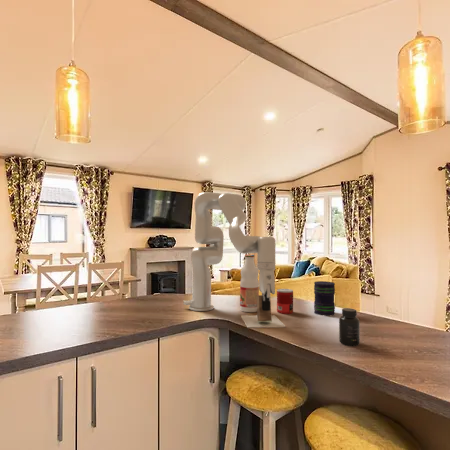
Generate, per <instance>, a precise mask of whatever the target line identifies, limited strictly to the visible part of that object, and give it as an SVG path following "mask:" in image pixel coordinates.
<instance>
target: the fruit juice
mask: <svg viewBox="0 0 450 450" xmlns="http://www.w3.org/2000/svg"><path fill="white" fill-rule="evenodd" d="M244 259H245V260H244V265H243V266H242V268H241V270H240V276H241V278H240V285H239V287H240V288H239V289H240V290H239V293H240V294H239V296H240V297H239V309H240V311H241V312H244V313H257V297H256V296H258V295H260V293H259V292H260V290H259V272H260V271H259V270H257V265H256V263H255V254H244Z"/></svg>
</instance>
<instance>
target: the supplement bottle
mask: <svg viewBox="0 0 450 450" xmlns="http://www.w3.org/2000/svg"><path fill="white" fill-rule="evenodd" d="M357 312H358V311H357V310H356V309H355V308H352V307H351V308H349V307H345V308H342V309H341V316H340V317H339V319H338V323H339V324H338V325H339V327H338V330H339V331H338V333H339V334H338V336H339V337H338V339H339V343H340V344H341V345H343V346H347V347H359V345H360V343H361V342H360V341H361V340H360V339H361V335H360V334H361V331H360V329H361V328H360V327H361V325H360V323H361V322H360V319H359V317H357V316H358V314H357Z"/></svg>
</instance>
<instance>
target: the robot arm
mask: <svg viewBox="0 0 450 450" xmlns="http://www.w3.org/2000/svg"><path fill="white" fill-rule="evenodd" d="M246 204H247V203H246V200H245V198H244V196H242V195H240V194H237V193H232V192H231V193H229V192H227V193H218V192H212V191H205V192H204V191H203V192H200V193H199V194H198V195H197V196H196V198H195V201H194V213H195V224H194V240H195V242H196V244H199V245H209V246H199V247H198V246H197V247H195V248H194V249H192V250H191V252H190V261H191V265H192V266H191V267H192V286H191V287H192V294H191V295H192V297H191V299H190V300H183V305H185V306H188V308H189V310H191V311H194V312H207V311H212V310H214V309H215V307H214V305H213V304H212V272H211V269H210V267H209V266H210V265H212V266H213V265H218V264H220V263H221V262H222V260H223V257H224V256H223V254H224V232H223V229H221V228H220V227H219V226H216V225H215V226H214V225H213V223H212V222H213V217H212V214H211V212H210V210H214V211H215V210H217V211H221V212H222V213H223V216H224V217H225V219H226V221H227V222H228V224H229V227H228V236H229V240H230V243H232V245H233V246H234V249H236V251H237V252H238V253H240V254H243V255H247V254H256V255H257V257H256V259H257V261H256V262H257V263H256V267H257V270H258V272H259V274H258V281H259V292H260V293H261V295H262V310H263V311H270V301H271V295H275V294H276V281H275V280H276V279H275V271H276V238H274V237H273V236H258V235H245V234H244V232H243V231H242V228H241V227H240V226H241V225H243V224H244V223H245V221H246V220H247V215H246V213H245V212H244V210H245V208H246V206H247V205H246Z"/></svg>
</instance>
